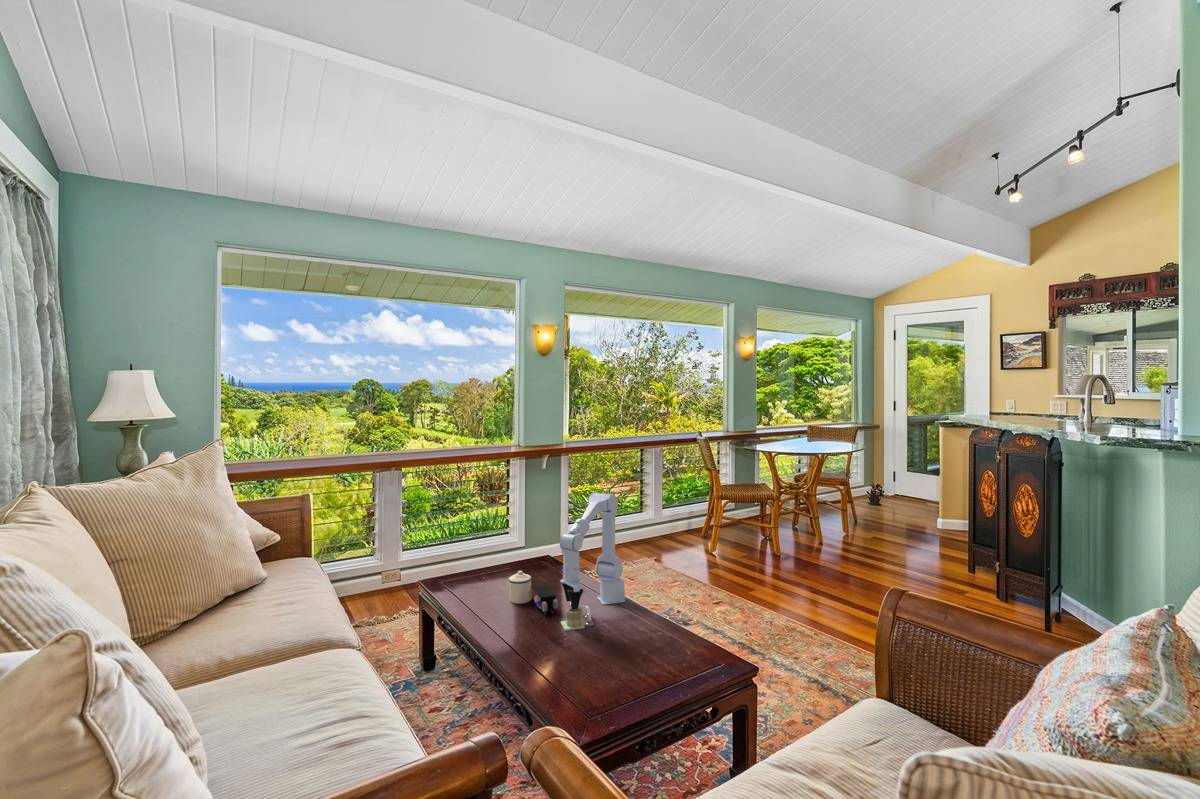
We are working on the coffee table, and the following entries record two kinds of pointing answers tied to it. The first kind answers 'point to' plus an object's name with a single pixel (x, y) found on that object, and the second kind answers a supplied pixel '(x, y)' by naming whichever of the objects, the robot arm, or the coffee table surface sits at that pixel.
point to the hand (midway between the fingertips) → (572, 604)
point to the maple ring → (574, 617)
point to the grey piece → (587, 615)
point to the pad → (570, 627)
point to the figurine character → (545, 598)
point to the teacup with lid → (520, 588)
